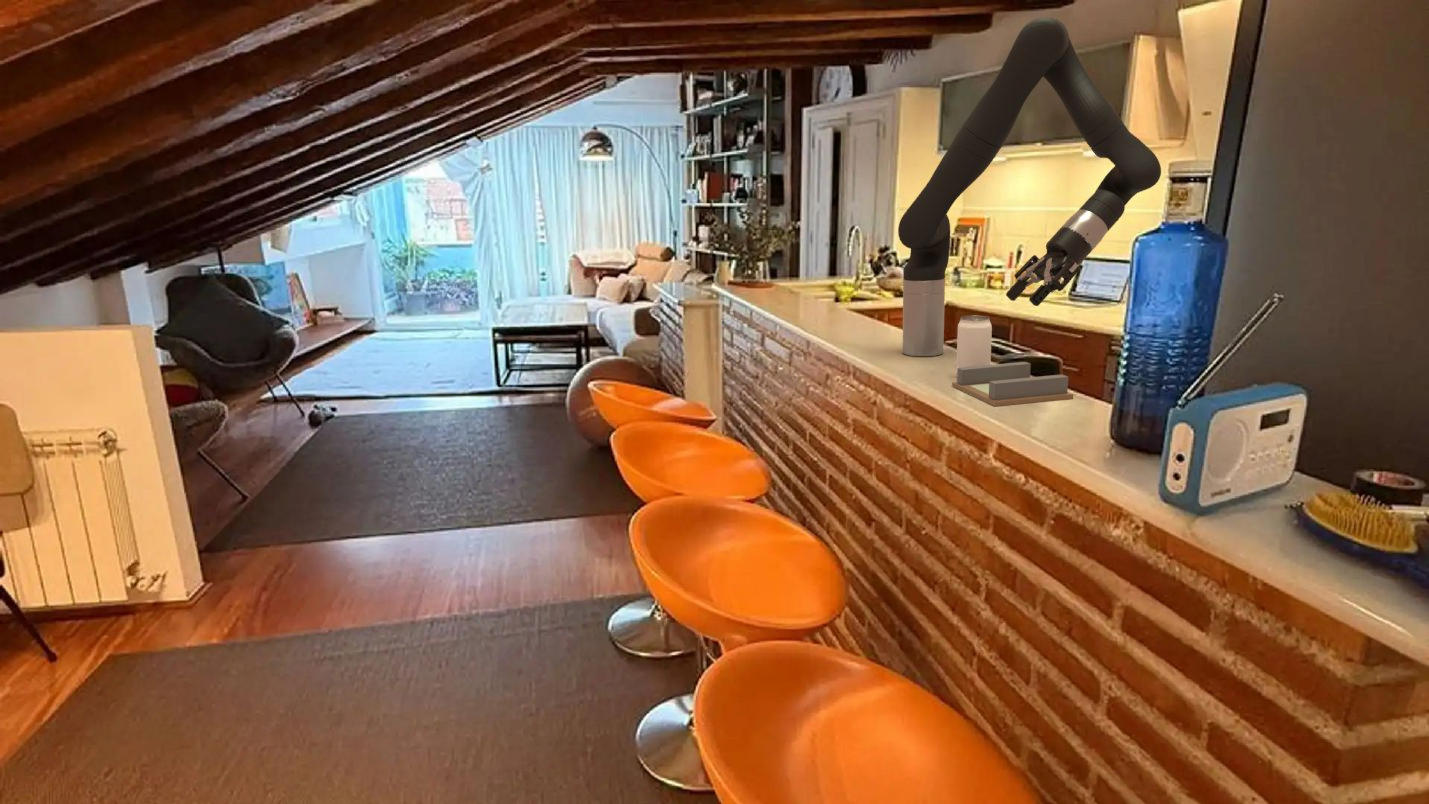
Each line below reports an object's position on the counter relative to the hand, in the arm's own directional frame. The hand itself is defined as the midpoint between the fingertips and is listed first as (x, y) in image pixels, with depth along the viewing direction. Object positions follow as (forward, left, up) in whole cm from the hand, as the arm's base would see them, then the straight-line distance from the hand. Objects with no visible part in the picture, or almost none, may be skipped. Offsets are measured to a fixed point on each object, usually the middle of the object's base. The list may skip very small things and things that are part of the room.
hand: (1020, 300), depth 158 cm
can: (0, -10, -15) cm, 18 cm away
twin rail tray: (+14, -10, -15) cm, 23 cm away
